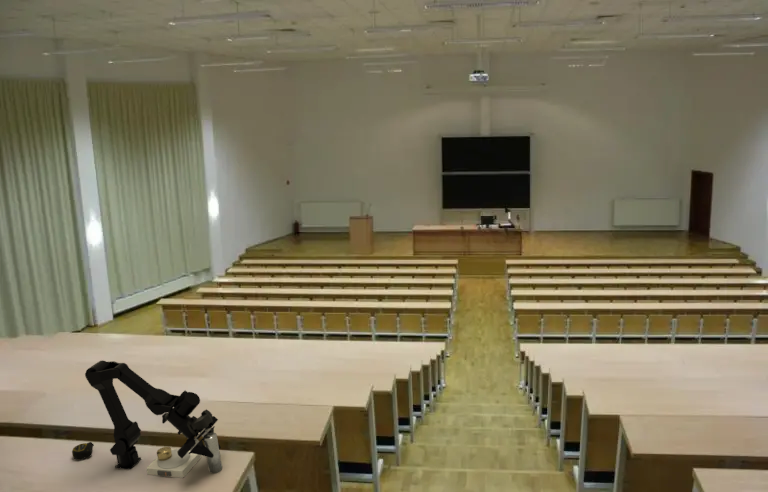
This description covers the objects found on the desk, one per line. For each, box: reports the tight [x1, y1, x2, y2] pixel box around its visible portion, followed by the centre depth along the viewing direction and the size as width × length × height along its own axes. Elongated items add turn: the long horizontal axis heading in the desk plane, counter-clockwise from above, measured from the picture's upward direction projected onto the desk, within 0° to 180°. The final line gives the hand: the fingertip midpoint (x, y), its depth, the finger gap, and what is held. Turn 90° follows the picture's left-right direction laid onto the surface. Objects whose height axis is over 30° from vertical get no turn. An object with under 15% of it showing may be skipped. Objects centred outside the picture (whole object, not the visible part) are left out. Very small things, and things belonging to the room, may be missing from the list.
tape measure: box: [71, 441, 95, 460], centre depth 221 cm, size 7×7×4 cm
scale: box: [146, 448, 203, 479], centre depth 210 cm, size 14×13×3 cm
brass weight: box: [156, 446, 172, 461], centre depth 210 cm, size 5×5×2 cm
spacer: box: [202, 432, 223, 474], centre depth 205 cm, size 4×4×13 cm
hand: (216, 452), depth 204 cm, fingers closed on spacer, 4 cm apart
